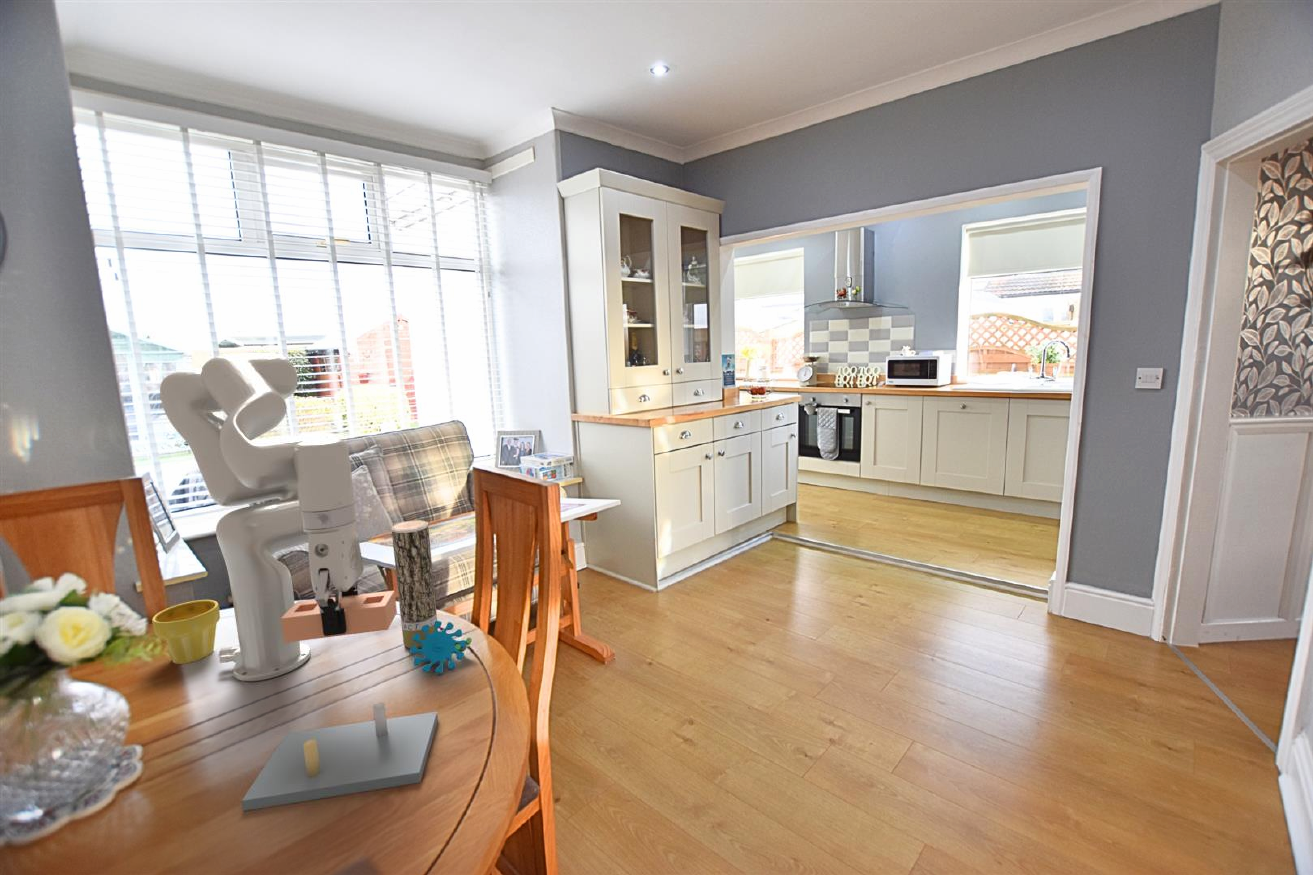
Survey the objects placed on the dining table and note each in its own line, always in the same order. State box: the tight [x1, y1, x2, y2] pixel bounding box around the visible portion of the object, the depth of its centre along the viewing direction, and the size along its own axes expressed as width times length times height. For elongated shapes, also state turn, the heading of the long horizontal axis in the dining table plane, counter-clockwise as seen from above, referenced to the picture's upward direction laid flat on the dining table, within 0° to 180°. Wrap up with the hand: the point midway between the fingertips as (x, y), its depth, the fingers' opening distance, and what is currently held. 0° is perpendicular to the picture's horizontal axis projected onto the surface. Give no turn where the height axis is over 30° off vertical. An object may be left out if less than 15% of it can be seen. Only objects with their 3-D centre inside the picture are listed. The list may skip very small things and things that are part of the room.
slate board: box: [241, 702, 439, 812], centre depth 84 cm, size 22×14×6 cm, turn 101°
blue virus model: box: [409, 620, 473, 675], centre depth 111 cm, size 11×6×10 cm
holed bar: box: [281, 590, 398, 643], centre depth 94 cm, size 15×6×4 cm, turn 102°
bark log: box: [391, 519, 439, 649], centre depth 118 cm, size 7×7×25 cm
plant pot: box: [151, 599, 221, 665], centre depth 117 cm, size 10×10×10 cm
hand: (342, 622), depth 94 cm, fingers closed on holed bar, 6 cm apart
